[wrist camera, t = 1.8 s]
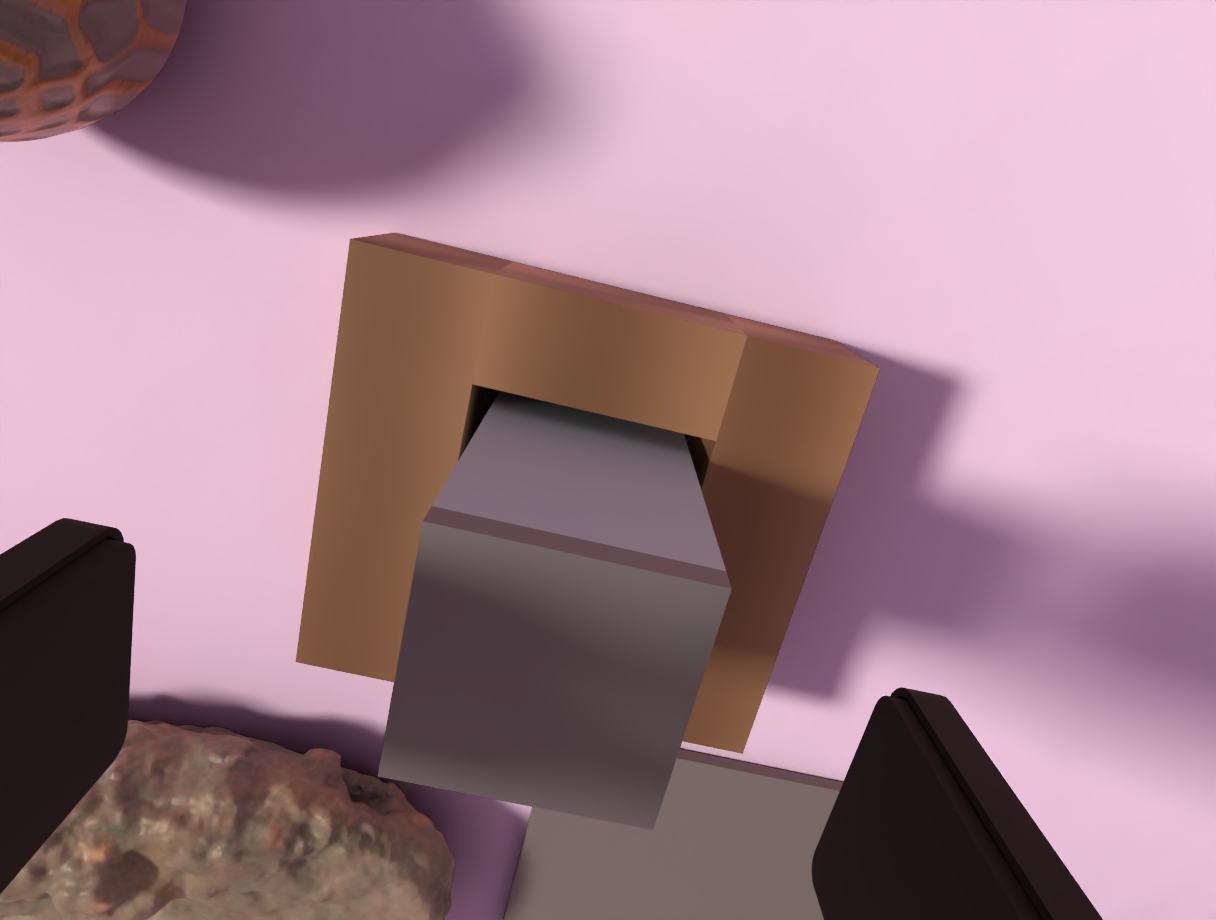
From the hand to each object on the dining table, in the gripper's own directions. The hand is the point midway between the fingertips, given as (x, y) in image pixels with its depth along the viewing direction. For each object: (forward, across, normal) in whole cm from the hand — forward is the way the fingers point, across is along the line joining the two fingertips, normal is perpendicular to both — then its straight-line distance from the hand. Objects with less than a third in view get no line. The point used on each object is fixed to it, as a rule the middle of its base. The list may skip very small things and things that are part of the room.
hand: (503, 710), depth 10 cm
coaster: (+9, -7, +12) cm, 17 cm away
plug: (+9, -1, 0) cm, 9 cm away
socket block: (+9, -1, 0) cm, 9 cm away
